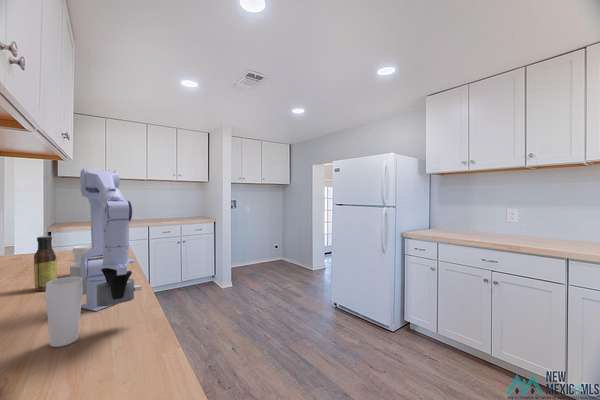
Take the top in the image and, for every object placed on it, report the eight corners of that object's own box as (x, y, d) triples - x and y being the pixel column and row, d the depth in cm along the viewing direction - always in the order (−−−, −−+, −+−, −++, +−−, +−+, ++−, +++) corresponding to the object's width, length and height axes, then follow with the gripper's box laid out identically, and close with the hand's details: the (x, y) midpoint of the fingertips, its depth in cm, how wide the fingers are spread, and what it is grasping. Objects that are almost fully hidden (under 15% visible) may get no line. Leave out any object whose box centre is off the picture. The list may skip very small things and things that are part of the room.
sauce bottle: (61, 286, 105) (61, 235, 105) (47, 291, 99) (47, 237, 99) (44, 286, 105) (44, 235, 105) (28, 291, 99) (29, 237, 99)
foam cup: (81, 272, 124) (81, 244, 123) (103, 272, 125) (103, 244, 125) (67, 279, 114) (67, 248, 114) (92, 278, 116) (92, 247, 116)
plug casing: (138, 293, 79) (138, 276, 79) (142, 298, 75) (142, 280, 75) (95, 302, 72) (95, 284, 72) (97, 307, 69) (98, 288, 68)
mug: (65, 292, 99) (65, 264, 99) (94, 284, 108) (94, 259, 108) (80, 297, 94) (80, 268, 94) (109, 289, 103) (110, 263, 103)
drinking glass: (44, 341, 66) (45, 280, 66) (80, 332, 70) (80, 274, 70) (45, 353, 61) (46, 287, 61) (84, 342, 66) (84, 280, 66)
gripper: (140, 247, 70) (140, 299, 71) (127, 240, 81) (127, 286, 81) (107, 251, 66) (107, 307, 66) (98, 243, 76) (97, 291, 76)
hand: (116, 295), depth 73 cm, fingers closed on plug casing, 4 cm apart
